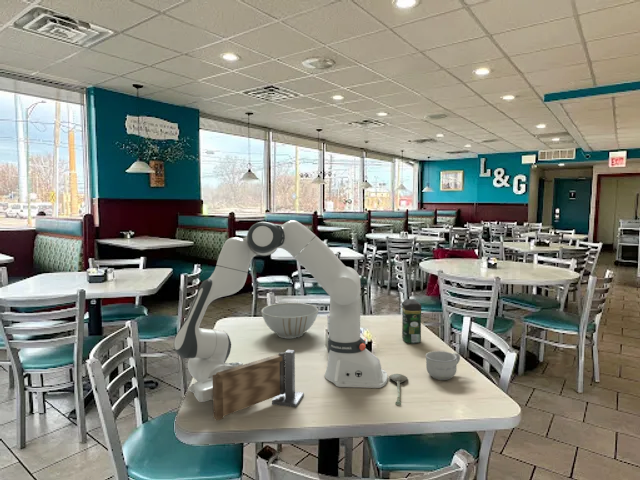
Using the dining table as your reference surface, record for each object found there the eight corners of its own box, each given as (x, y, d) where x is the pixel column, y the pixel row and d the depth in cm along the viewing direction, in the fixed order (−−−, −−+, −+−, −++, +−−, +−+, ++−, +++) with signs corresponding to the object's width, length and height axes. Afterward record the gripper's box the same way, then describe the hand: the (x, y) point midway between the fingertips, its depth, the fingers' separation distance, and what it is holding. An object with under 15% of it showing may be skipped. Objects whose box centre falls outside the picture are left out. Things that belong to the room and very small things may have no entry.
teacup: (435, 384, 143) (435, 362, 142) (419, 372, 153) (420, 351, 152) (470, 380, 146) (471, 358, 146) (452, 368, 157) (453, 347, 156)
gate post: (303, 395, 135) (303, 347, 133) (296, 407, 127) (295, 356, 126) (280, 392, 137) (280, 345, 135) (271, 404, 129) (271, 354, 128)
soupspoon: (407, 379, 150) (389, 378, 151) (407, 370, 149) (388, 369, 151) (408, 407, 128) (387, 406, 129) (408, 396, 128) (386, 395, 129)
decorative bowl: (298, 347, 179) (298, 320, 177) (249, 337, 192) (249, 312, 191) (328, 331, 202) (328, 306, 201) (283, 323, 215) (283, 300, 214)
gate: (282, 392, 134) (282, 351, 133) (286, 394, 132) (286, 353, 131) (213, 418, 118) (212, 372, 117) (216, 420, 116) (215, 374, 115)
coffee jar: (400, 337, 193) (400, 297, 191) (417, 337, 193) (418, 297, 191) (404, 344, 183) (405, 303, 181) (422, 344, 183) (423, 303, 181)
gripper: (185, 377, 126) (206, 393, 116) (244, 360, 139) (267, 373, 129) (186, 397, 127) (206, 414, 116) (245, 378, 140) (268, 393, 129)
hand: (239, 392), depth 123 cm, fingers closed
